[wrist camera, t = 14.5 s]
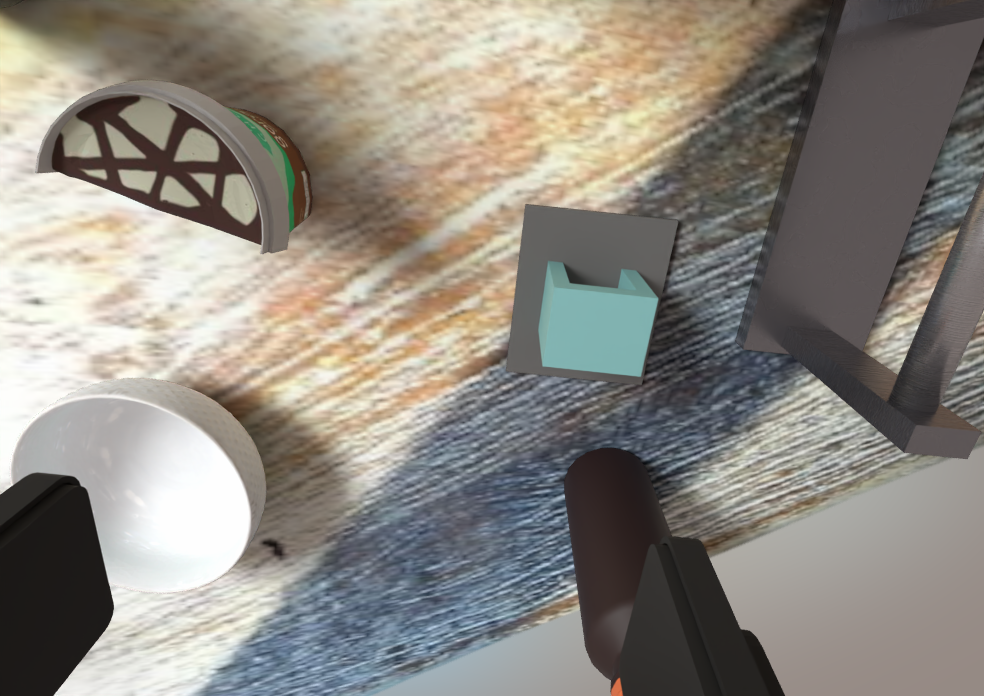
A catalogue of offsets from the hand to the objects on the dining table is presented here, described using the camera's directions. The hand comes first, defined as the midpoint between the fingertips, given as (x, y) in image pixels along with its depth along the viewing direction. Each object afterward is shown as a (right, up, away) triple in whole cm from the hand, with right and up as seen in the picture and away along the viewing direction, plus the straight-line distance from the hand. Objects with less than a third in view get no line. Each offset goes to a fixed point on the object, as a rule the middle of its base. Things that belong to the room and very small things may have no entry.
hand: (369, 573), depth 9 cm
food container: (-13, +17, +27) cm, 34 cm away
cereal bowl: (-23, -4, +36) cm, 43 cm away
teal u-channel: (+9, +7, +29) cm, 31 cm away
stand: (+24, +14, +26) cm, 38 cm away
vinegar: (+11, -7, +36) cm, 38 cm away
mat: (+9, +7, +30) cm, 32 cm away
